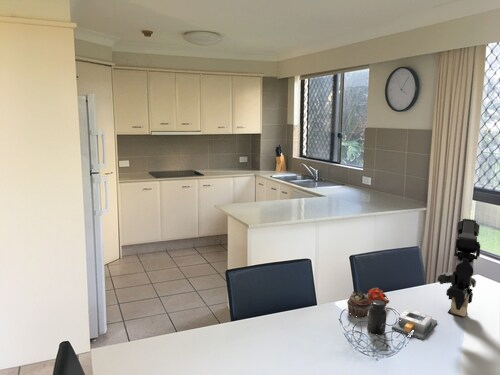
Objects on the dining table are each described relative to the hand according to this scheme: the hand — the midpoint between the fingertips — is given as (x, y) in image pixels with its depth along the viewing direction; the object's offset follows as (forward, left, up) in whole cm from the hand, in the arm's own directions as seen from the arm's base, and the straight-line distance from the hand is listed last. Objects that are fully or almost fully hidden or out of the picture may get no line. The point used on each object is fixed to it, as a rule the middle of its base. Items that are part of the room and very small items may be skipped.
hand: (459, 308), depth 163 cm
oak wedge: (0, 0, -2) cm, 2 cm away
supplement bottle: (+17, -25, -12) cm, 33 cm away
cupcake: (+8, -37, -12) cm, 40 cm away
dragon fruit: (-5, -34, -12) cm, 36 cm away
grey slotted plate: (+2, -15, -12) cm, 19 cm away
